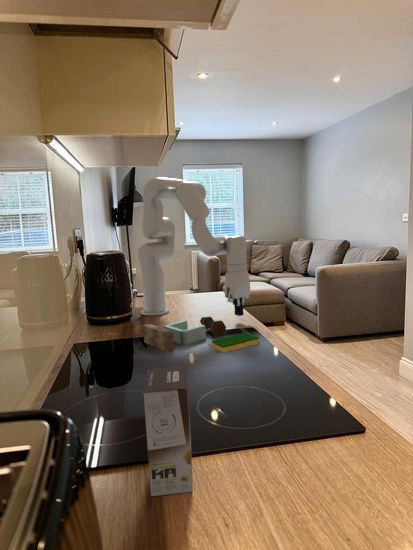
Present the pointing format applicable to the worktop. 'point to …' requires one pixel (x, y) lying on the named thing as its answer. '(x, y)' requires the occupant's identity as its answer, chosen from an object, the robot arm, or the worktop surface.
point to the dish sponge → (234, 342)
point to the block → (186, 332)
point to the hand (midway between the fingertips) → (239, 315)
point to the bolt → (213, 325)
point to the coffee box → (168, 430)
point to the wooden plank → (159, 337)
